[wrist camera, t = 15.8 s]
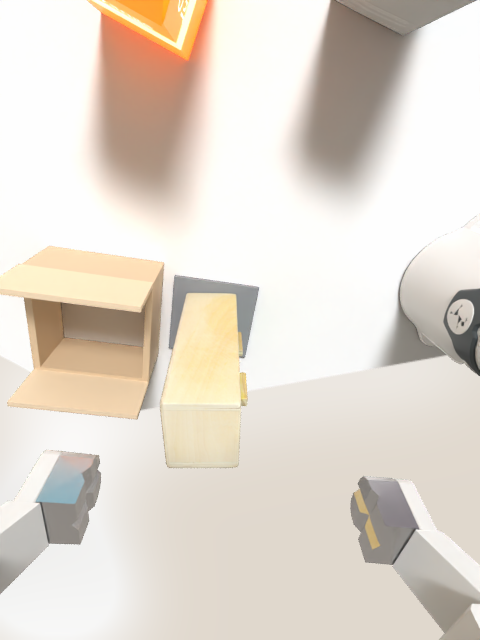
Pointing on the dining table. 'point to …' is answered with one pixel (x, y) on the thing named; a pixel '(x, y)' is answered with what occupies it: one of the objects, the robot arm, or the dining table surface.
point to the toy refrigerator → (204, 385)
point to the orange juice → (159, 20)
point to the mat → (185, 285)
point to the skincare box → (404, 11)
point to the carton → (83, 355)
